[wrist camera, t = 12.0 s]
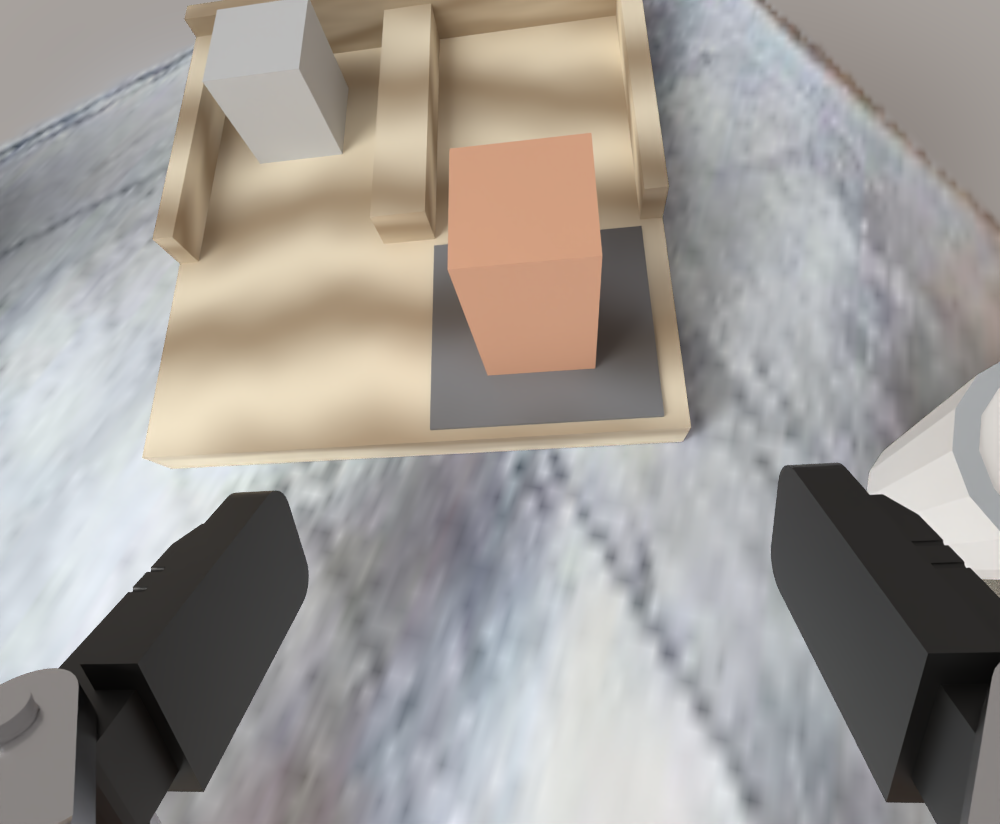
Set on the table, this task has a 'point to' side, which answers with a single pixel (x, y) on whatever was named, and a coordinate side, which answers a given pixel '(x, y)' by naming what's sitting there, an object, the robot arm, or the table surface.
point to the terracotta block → (527, 251)
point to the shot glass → (953, 472)
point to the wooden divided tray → (409, 247)
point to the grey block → (278, 80)
